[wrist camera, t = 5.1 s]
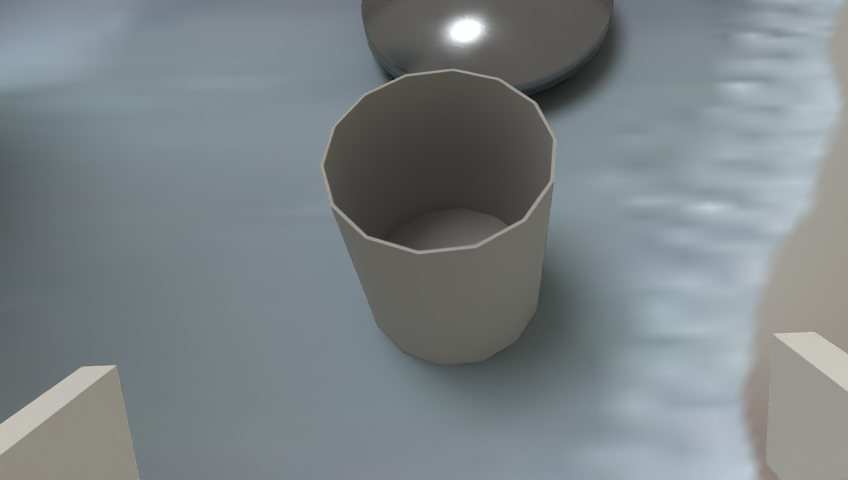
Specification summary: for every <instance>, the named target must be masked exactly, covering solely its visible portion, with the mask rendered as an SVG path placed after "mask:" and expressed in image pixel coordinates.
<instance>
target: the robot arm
mask: <svg viewBox="0 0 848 480" xmlns="http://www.w3.org/2000/svg"><path fill="white" fill-rule="evenodd" d="M766 463H767V464H768V465H769V467H770V468H771V469H772V470H773V471H774V473H775V474H776V475H777V476H778V477H779V479H780V480H848V354H846V353H845V352H843V351H842V350H841V349H839V348H838V347H836V346H834V345H833V344H832V343H830V342H829V341H827V340H826V339H824V338H823V337H821V336H820V335H818V334H817V333H815V332H800V333H779V334H772V351H771V372H770V390H769V410H768V430H767V450H766ZM0 480H140V478H139V473H138V468H137V463H136V458H135V453H134V448H133V443H132V438H131V433H130V428H129V423H128V418H127V413H126V408H125V404H124V399H123V394H122V389H121V384H120V379H119V374H118V369H117V365H107V366H86V367H81V368H79V369H78V370H76V371H75V372H74V373H72V374H71V375H69V376H68V377H66V378H65V379H64V380H62V381H61V382H59V383H58V384H57V385H55V386H54V387H52V388H51V389H49V390H48V391H47V392H45V393H44V394H42V395H41V396H40V397H38V398H37V399H35V400H34V401H32V402H31V403H30V404H28V405H27V406H25V407H24V408H23V409H21V410H20V411H18V412H17V413H15V414H14V415H13V416H11V417H10V418H8V419H7V420H6V421H4V422H3V423H1V424H0Z"/></svg>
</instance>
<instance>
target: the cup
mask: <svg viewBox="0 0 848 480" xmlns="http://www.w3.org/2000/svg"><path fill="white" fill-rule="evenodd" d="M556 142H557V138H556V137H555V135H554V133H553V131H552V129H551V128H550V126H549V124H548V122H547V120H546V119H545V117H544V115H543V113H542V111H541V110H540V108H539V106H538V104H537V103H536V102H535V101H534V100H532V99H530V98H529V97H527V96H526V95H524V94H523V93H521V92H520V91H518V90H517V89H515V88H514V87H512V86H511V85H509V84H508V83H506V82H505V81H503V80H502V79H500V78H497V77H492V76H487V75H482V74H477V73H472V72H468V71H463V70H458V69H445V70H437V71H429V72H420V73H412V74H405V75H403V76H401V77H399V78H397V79H394V80H392V81H390V82H388V83H386V84H384V85H382V86H380V87H377V88H375V89H373V90H371V91H369V92H367V93H365V94H363V95H362V96H361V97H360V98H359V99H358V100H357V101H356V102H355V103H354V104H353V105H352V106H351V107H350V108H349V109H348V110H347V111H346V112H345V113H344V115H343V116H342V117H341V118H340V119H339V120H338V121H337V122H336V123H335V124H334V125H333V126H332V129H331V132H330V135H329V138H328V142H327V145H326V148H325V151H324V154H323V158H322V161H321V164H320V167H321V171H322V175H323V179H324V183H325V186H326V190H327V194H328V198H329V202H330V205H331V208H332V211H333V213H334V216H335V218H336V221H337V223H338V226H339V229H340V231H341V234H342V236H343V239H344V241H345V244H346V246H347V249H348V251H349V254H350V257H351V259H352V262H353V264H354V267H355V269H356V272H357V274H358V277H359V279H360V282H361V285H362V287H363V290H364V292H365V295H366V297H367V300H368V302H369V305H370V307H371V310H372V313H373V315H374V318H375V320H376V323H377V325H378V327H379V328H380V329H381V330H382V331H383V332H384V333H385V334H386V335H387V336H388V337H389V338H390V339H391V340H392V341H393V342H394V343H395V344H396V345H397V346H398V347H399V348H400V349H401V350H402V351H403V352H404V353H407V354H409V355H412V356H415V357H418V358H421V359H424V360H427V361H429V362H432V363H435V364H438V365H441V366H442V365H452V364H462V363H473V362H482V361H484V360H486V359H487V358H489V357H491V356H492V355H494V354H496V353H498V352H499V351H501V350H503V349H504V348H506V347H508V346H510V345H511V344H513V343H515V342H516V341H517V340H518V339H519V337H520V335H521V334H522V332H523V331H524V329H525V328H526V326H527V325H528V323H529V322H530V320H531V318H532V317H533V315H534V314H535V312H536V311H537V306H538V299H539V291H540V284H541V276H542V268H543V261H544V253H545V246H546V238H547V230H548V223H549V215H550V208H551V200H552V192H553V185H554V173H555V158H556Z"/></svg>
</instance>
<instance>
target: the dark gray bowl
mask: <svg viewBox="0 0 848 480" xmlns="http://www.w3.org/2000/svg"><path fill="white" fill-rule="evenodd" d="M361 6H362V19H363V23H364V28H365V32H366V37H367V41H368V45H369V47H370V49H371V51H372V54H373V55H374V57H375V58H376V60H377V61H378V62H379V64H380V65H381V66H382V67H383V68H384V69H385V70H386V71H387V72H388V73H389V74H390V75H392V76H393V77H394V78H396V79H397V78H399V77H401V76H403V75H405V74H412V73H420V72H429V71H437V70H445V69H458V70H463V71H468V72H472V73H477V74H482V75H487V76H492V77H497V78H500V79H502V80H503V81H505V82H506V83H508V84H509V85H511V86H512V87H514V88H515V89H517V90H518V91H520V92H521V93H523V94H524V95H526V96H528V95H531V94H534V93H537V92H540V91H543V90H546V89H548V88H550V87H552V86H555V85H558V84H561V83H563V82H565V81H566V80H567V79H568V78H569V77H571V76H572V75H574V74H575V73H576V72H578V71H579V70H580V69H582V68H583V67H584V66H585V65H586V64H587V63H588V62H589V61H590V60H591V59H592V58H593V57H594V56H595V54H596V53H597V51H598V50H599V49H600V47H601V46H602V44H603V42H604V39H605V37H606V35H607V31H608V28H609V23H610V18H611V13H612V8H613V0H362V5H361Z"/></svg>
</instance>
